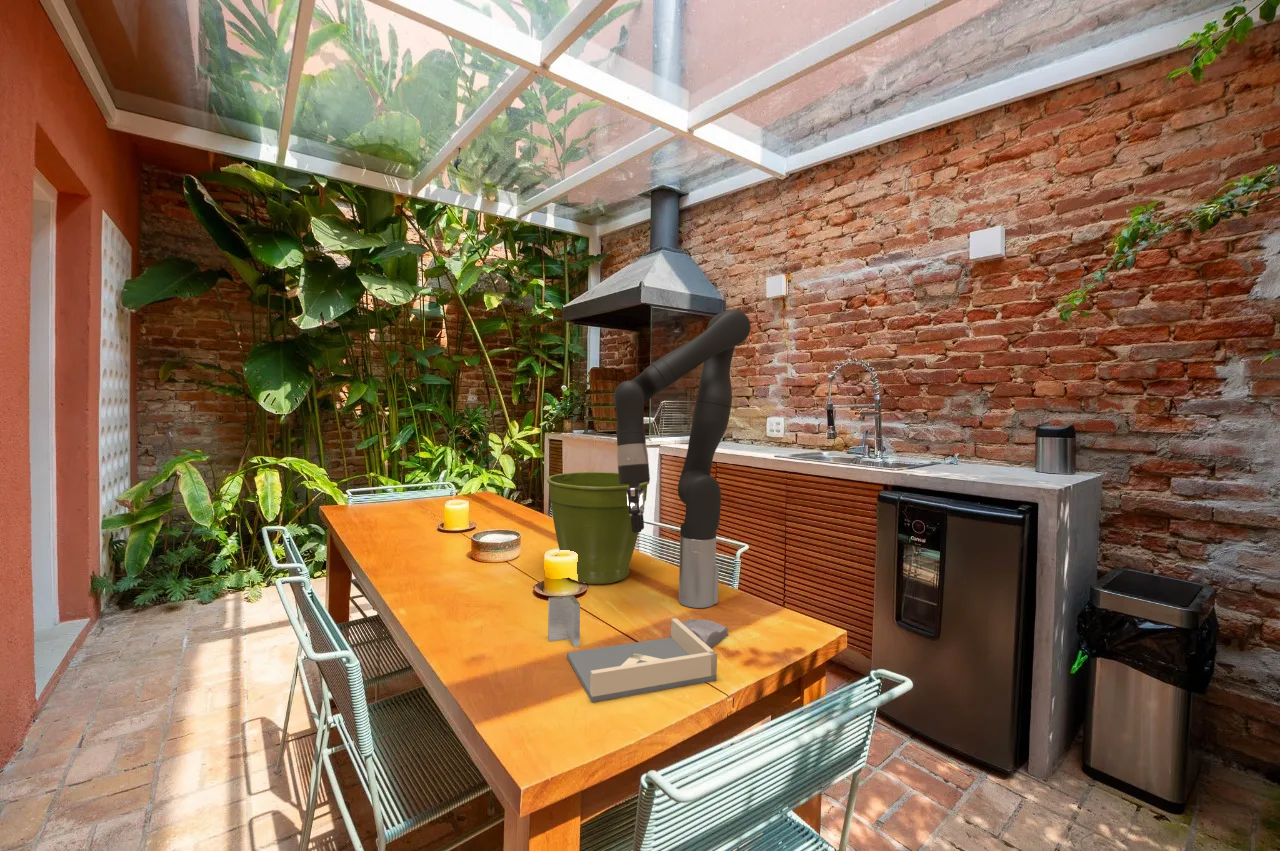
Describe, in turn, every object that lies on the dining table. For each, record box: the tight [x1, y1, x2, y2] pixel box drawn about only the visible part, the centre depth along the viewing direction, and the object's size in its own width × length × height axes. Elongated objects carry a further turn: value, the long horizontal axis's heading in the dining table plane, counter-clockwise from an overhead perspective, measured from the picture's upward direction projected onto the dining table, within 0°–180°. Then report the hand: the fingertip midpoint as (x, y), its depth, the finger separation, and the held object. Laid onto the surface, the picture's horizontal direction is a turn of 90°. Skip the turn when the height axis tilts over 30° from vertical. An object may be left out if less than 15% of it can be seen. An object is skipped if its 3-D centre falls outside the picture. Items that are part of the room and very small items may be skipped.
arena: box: [566, 618, 718, 703], centre depth 110 cm, size 24×18×5 cm
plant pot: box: [546, 471, 651, 585], centre depth 166 cm, size 30×30×29 cm
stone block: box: [669, 618, 729, 649], centre depth 124 cm, size 12×5×10 cm
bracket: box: [547, 594, 581, 648], centre depth 120 cm, size 6×6×9 cm
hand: (638, 531), depth 137 cm, fingers open, 8 cm apart
